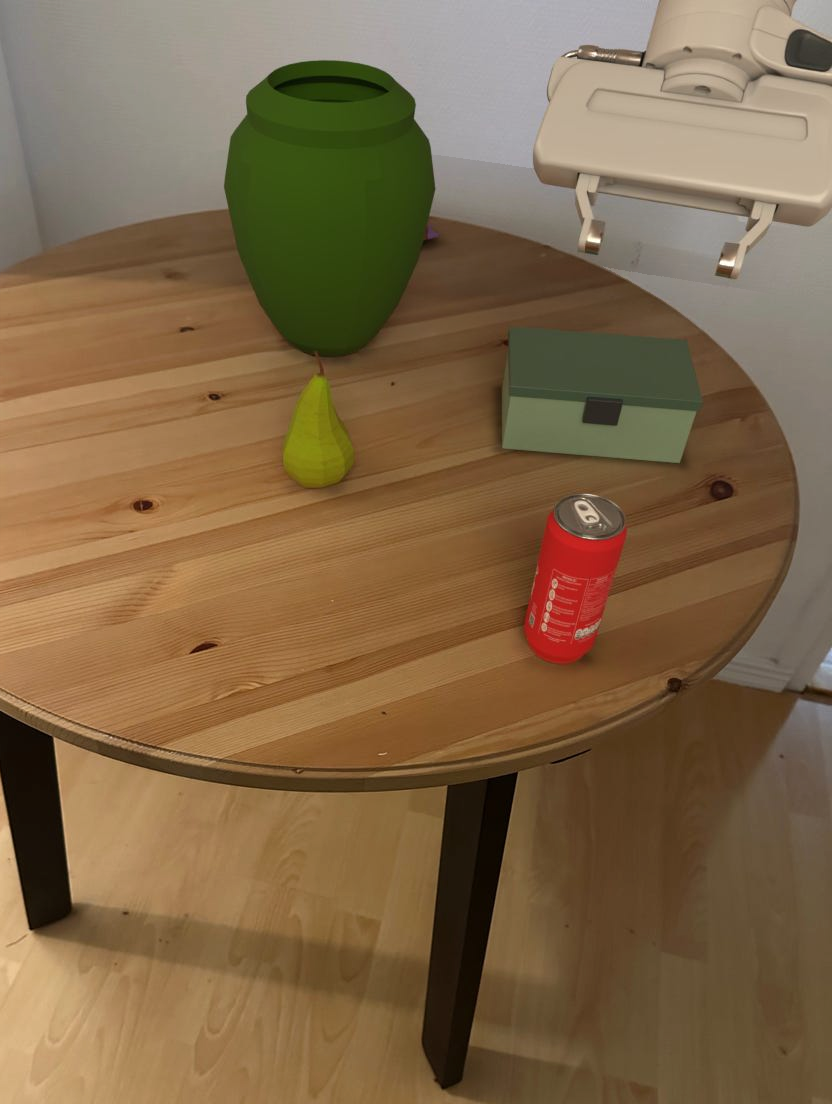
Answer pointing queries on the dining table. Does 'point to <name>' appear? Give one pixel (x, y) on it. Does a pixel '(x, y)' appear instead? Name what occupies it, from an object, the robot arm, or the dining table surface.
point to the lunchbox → (598, 394)
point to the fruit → (317, 438)
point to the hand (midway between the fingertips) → (656, 262)
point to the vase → (329, 200)
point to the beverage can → (574, 576)
